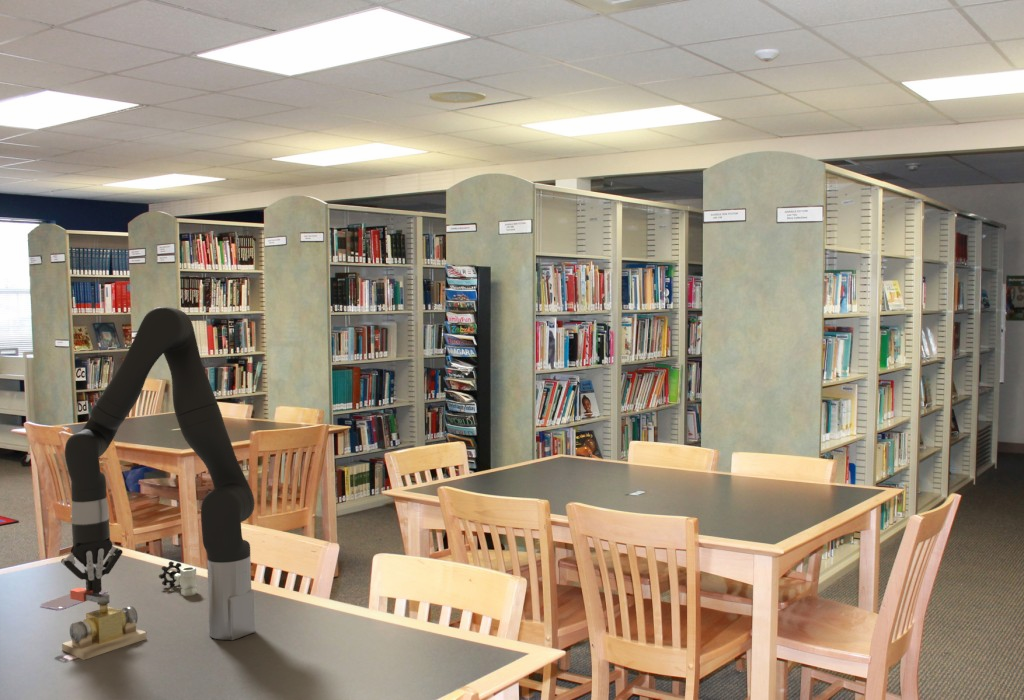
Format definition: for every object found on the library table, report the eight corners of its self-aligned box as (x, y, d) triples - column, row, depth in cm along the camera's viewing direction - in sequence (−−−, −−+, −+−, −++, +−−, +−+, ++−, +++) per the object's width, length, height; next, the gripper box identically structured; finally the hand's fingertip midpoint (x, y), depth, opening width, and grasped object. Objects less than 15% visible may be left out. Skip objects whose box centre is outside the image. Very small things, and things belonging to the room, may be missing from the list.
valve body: (139, 631, 194) (138, 597, 194) (81, 649, 184) (80, 614, 183) (126, 626, 197) (125, 593, 197) (68, 644, 187) (67, 610, 186)
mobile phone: (37, 604, 216) (88, 586, 230) (37, 608, 216) (88, 589, 230) (60, 608, 213) (109, 589, 227) (60, 612, 213) (109, 593, 227)
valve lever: (112, 602, 191) (111, 594, 190) (102, 606, 188) (101, 597, 188) (79, 595, 196) (79, 587, 196) (70, 598, 194) (69, 590, 194)
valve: (205, 592, 225) (183, 583, 234) (204, 567, 225) (182, 558, 233) (180, 599, 221) (158, 589, 229) (179, 573, 220) (158, 564, 228)
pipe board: (146, 638, 194) (145, 622, 193) (84, 659, 182) (83, 642, 182) (124, 630, 199) (123, 614, 199) (62, 650, 188) (61, 633, 187)
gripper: (63, 527, 188) (68, 606, 189) (127, 516, 197) (130, 591, 198) (53, 521, 193) (57, 598, 194) (114, 510, 203) (118, 584, 204)
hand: (94, 594), depth 196 cm, fingers closed
